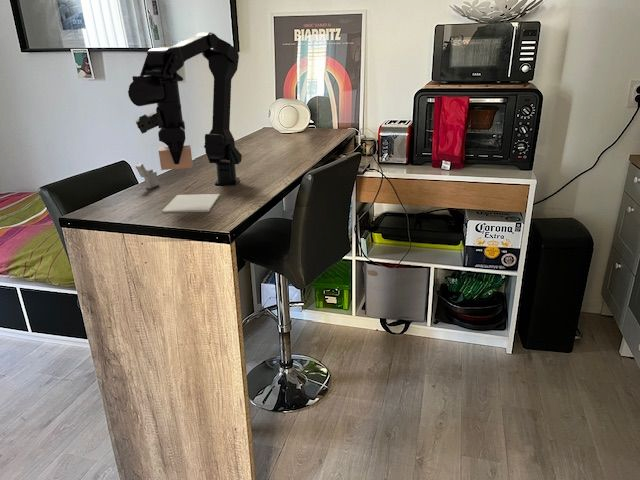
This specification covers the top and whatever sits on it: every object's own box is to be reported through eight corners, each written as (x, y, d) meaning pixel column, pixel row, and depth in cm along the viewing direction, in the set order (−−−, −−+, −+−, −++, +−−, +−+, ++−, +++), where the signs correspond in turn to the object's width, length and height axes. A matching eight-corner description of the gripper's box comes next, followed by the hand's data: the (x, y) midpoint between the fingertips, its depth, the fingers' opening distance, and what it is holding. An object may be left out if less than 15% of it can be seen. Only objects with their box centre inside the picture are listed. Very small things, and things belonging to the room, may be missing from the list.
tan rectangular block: (192, 163, 136) (190, 145, 134) (192, 167, 132) (190, 148, 130) (161, 166, 134) (159, 147, 132) (161, 170, 130) (158, 150, 128)
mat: (177, 196, 142) (177, 194, 141) (219, 195, 141) (219, 194, 141) (162, 212, 129) (162, 210, 128) (208, 211, 128) (208, 209, 128)
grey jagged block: (154, 184, 154) (150, 158, 151) (158, 184, 154) (154, 159, 151) (139, 190, 148) (134, 164, 145) (144, 191, 148) (139, 164, 145)
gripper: (138, 99, 133) (147, 157, 139) (131, 107, 116) (142, 173, 122) (181, 96, 136) (188, 154, 141) (181, 104, 119) (189, 169, 125)
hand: (176, 162), depth 132 cm, fingers closed on tan rectangular block, 4 cm apart
